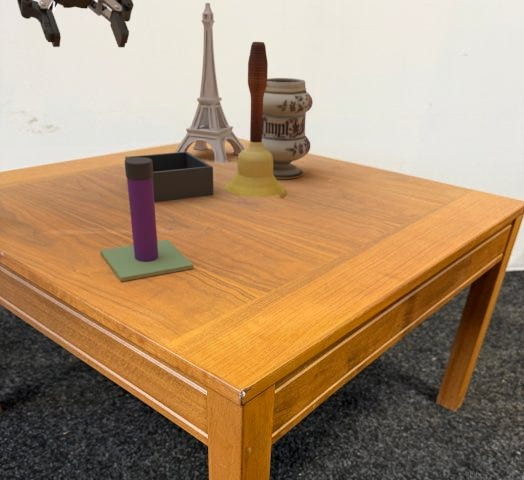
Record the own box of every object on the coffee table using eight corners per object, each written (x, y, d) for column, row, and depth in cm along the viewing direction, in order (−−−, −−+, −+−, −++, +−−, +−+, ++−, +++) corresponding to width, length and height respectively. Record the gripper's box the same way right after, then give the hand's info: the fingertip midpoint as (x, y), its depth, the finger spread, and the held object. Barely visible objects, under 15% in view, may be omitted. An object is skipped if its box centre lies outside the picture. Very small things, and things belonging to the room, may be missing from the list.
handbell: (239, 179, 112) (240, 38, 98) (295, 187, 108) (305, 42, 94) (211, 195, 102) (208, 41, 89) (272, 205, 98) (279, 46, 85)
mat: (121, 282, 70) (120, 277, 70) (100, 253, 78) (100, 249, 77) (193, 268, 74) (193, 264, 74) (167, 243, 82) (167, 239, 81)
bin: (149, 207, 95) (146, 173, 92) (128, 188, 104) (125, 156, 101) (213, 199, 100) (213, 166, 97) (188, 181, 109) (187, 151, 106)
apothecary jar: (265, 163, 123) (268, 74, 114) (315, 170, 119) (323, 79, 110) (242, 175, 114) (243, 80, 104) (296, 184, 110) (302, 85, 100)
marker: (133, 262, 74) (123, 163, 67) (134, 252, 77) (125, 156, 70) (158, 261, 74) (151, 163, 67) (159, 252, 77) (152, 157, 70)
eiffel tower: (197, 146, 135) (193, 2, 118) (247, 153, 131) (250, 4, 114) (170, 158, 124) (162, 1, 108) (224, 165, 120) (223, 4, 104)
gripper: (-6, -99, 66) (35, 18, 64) (109, -85, 72) (150, 21, 71) (-5, -43, 72) (32, 64, 70) (101, -35, 79) (137, 63, 77)
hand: (91, 42), depth 70 cm, fingers open, 8 cm apart
